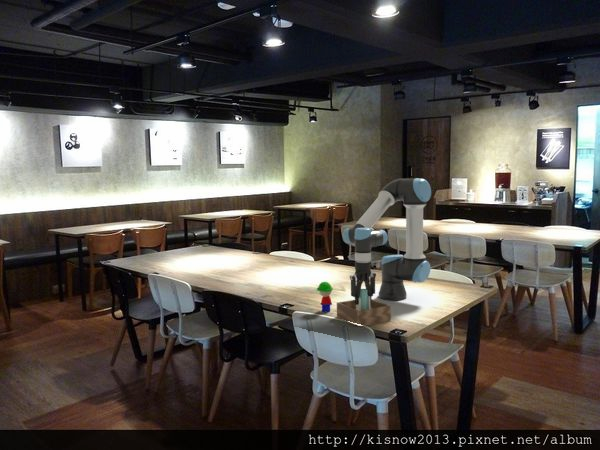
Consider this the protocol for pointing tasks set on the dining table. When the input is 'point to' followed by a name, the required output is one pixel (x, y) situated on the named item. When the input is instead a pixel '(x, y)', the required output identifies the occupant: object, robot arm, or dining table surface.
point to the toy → (325, 295)
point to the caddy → (364, 312)
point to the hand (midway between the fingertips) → (363, 310)
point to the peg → (363, 299)
